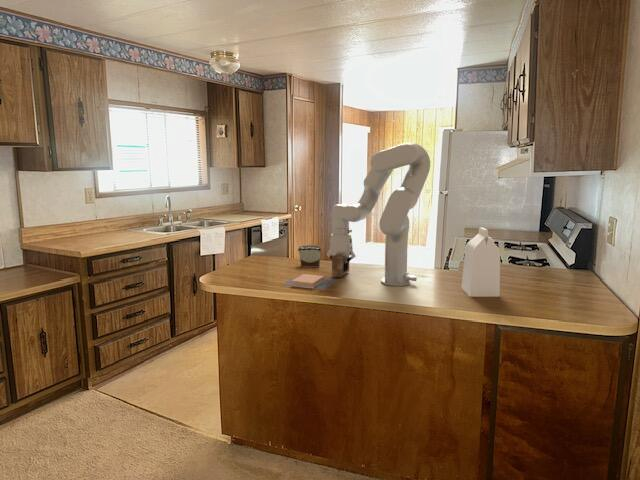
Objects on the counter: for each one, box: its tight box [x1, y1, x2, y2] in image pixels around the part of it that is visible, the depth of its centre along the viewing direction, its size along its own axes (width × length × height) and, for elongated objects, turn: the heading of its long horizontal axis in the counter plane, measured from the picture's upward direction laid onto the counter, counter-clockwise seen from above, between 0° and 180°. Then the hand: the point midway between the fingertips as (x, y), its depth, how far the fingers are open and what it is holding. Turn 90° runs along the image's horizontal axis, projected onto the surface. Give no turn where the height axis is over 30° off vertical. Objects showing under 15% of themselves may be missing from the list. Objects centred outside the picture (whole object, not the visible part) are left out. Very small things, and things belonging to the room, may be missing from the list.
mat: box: [282, 274, 340, 291], centre depth 198 cm, size 20×17×1 cm
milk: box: [461, 227, 501, 298], centre depth 180 cm, size 12×12×26 cm
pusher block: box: [331, 255, 350, 278], centre depth 207 cm, size 4×12×9 cm, turn 157°
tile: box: [291, 273, 325, 289], centre depth 195 cm, size 10×2×12 cm
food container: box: [297, 244, 323, 268], centre depth 230 cm, size 12×6×10 cm, turn 84°
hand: (340, 270), depth 208 cm, fingers closed on pusher block, 4 cm apart
